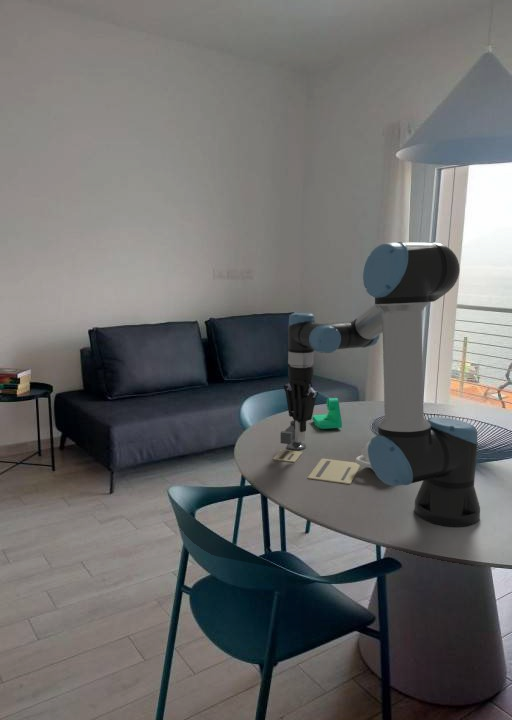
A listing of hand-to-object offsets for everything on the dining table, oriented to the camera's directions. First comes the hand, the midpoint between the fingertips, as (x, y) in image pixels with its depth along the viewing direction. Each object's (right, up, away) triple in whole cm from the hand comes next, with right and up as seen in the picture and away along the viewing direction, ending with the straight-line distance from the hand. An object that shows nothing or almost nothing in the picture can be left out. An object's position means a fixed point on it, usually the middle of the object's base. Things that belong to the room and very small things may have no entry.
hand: (299, 440), depth 178 cm
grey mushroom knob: (0, -4, +11) cm, 12 cm away
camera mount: (+12, 0, +34) cm, 36 cm away
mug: (+21, -8, -10) cm, 25 cm away
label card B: (+10, -7, -9) cm, 15 cm away
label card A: (-3, -5, +3) cm, 7 cm away
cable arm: (-2, 0, +6) cm, 6 cm away
